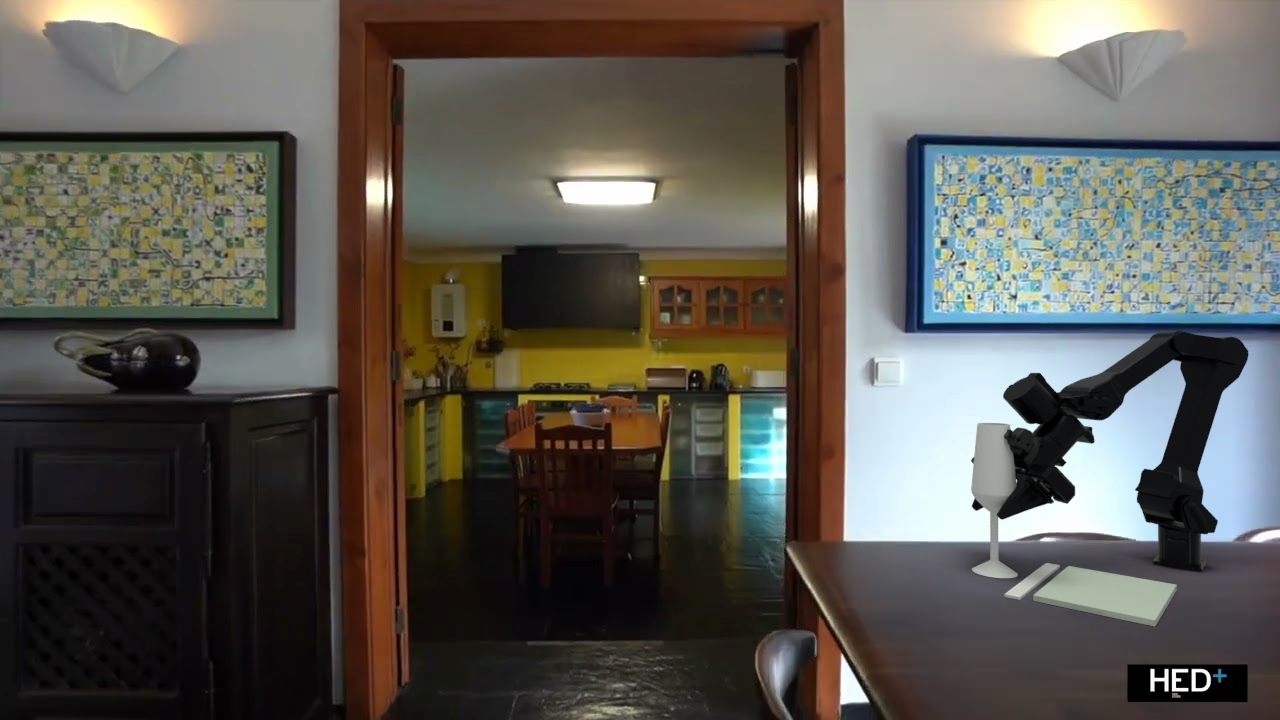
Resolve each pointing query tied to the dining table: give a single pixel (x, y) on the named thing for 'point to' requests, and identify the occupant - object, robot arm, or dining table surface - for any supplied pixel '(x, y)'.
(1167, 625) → the dining table surface
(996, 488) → the champagne flute
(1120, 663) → the dining table surface
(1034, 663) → the dining table surface
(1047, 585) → the pale green flat slabs
